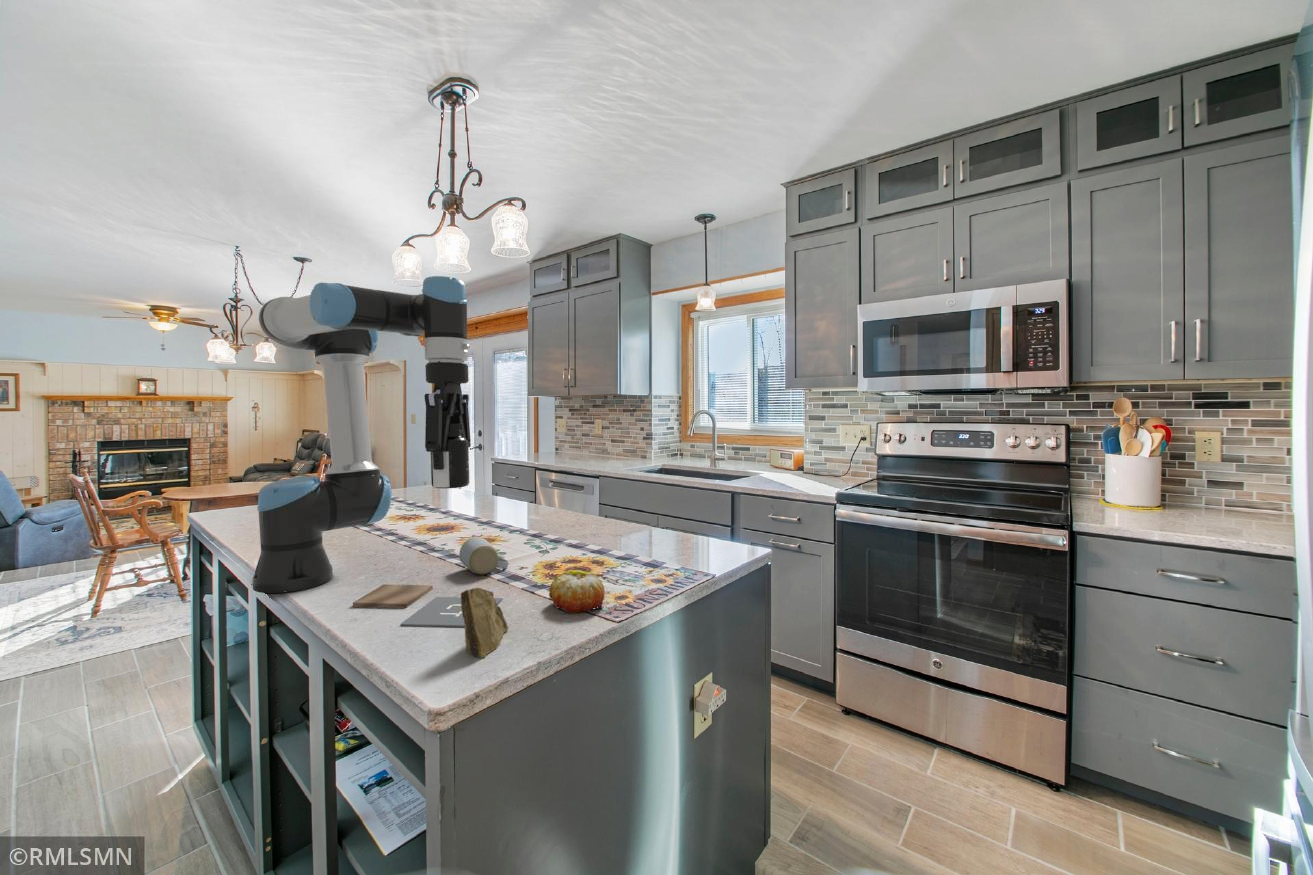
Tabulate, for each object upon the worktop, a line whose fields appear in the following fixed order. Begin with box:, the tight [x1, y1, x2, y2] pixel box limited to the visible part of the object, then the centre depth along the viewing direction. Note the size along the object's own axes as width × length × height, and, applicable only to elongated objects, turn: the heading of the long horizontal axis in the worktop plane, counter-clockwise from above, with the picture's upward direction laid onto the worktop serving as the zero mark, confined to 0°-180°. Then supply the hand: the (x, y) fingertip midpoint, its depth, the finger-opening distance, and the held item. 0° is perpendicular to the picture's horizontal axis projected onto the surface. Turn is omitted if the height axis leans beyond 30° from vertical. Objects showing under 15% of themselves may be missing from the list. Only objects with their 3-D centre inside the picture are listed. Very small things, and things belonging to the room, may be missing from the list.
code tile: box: [400, 596, 504, 628], centre depth 107 cm, size 14×14×1 cm
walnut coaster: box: [352, 584, 433, 609], centre depth 115 cm, size 11×11×1 cm
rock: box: [460, 587, 509, 659], centre depth 94 cm, size 11×9×10 cm
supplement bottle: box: [429, 423, 470, 489], centre depth 105 cm, size 7×7×12 cm
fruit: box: [548, 569, 606, 614], centre depth 111 cm, size 11×10×8 cm
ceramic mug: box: [459, 536, 510, 576], centre depth 133 cm, size 11×8×8 cm
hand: (450, 483), depth 106 cm, fingers closed on supplement bottle, 7 cm apart
